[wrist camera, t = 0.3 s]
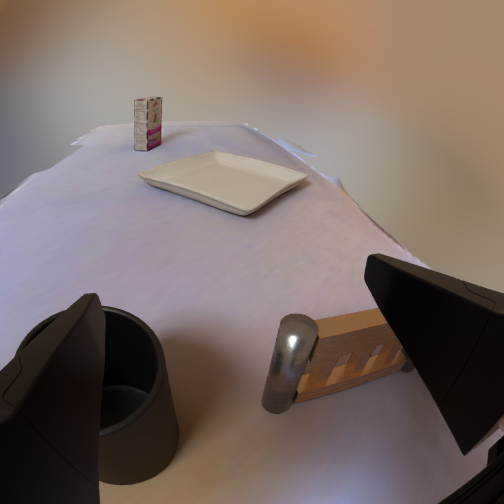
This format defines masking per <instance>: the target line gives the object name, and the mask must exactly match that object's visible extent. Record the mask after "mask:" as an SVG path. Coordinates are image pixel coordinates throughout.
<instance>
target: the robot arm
mask: <svg viewBox="0 0 504 504" xmlns="http://www.w3.org/2000/svg"><path fill="white" fill-rule="evenodd" d="M364 280H365V283H366V285H367V286H368V288H369V290H370V292H371V294H372V296H373V298H374V300H375V302H376V304H377V306H378V307H379V309H380V311H381V313H382V315H383V316H384V318H385V320H386V321H387V323H388V324H389V326H390V327H391V329H392V331H393V332H394V334H395V335H396V337H397V339H398V340H399V342H400V343H401V345H402V347H403V348H404V350H405V351H406V353H407V355H408V356H409V358H410V360H411V361H412V363H413V365H414V366H415V368H416V370H417V371H418V373H419V375H420V376H421V378H422V380H423V382H424V383H425V385H426V387H427V388H428V390H429V392H430V394H431V396H432V397H433V399H434V401H435V403H436V404H437V406H438V408H439V410H440V412H441V414H442V416H443V418H444V419H445V421H446V423H447V425H448V427H449V429H450V431H451V433H452V435H453V437H454V438H455V440H456V442H457V444H458V446H459V448H460V450H461V452H462V454H463V455H464V456H465V455H467V454H468V453H469V452H471V451H472V450H473V449H474V448H476V447H477V446H478V445H480V444H481V443H482V442H483V441H484V440H486V439H487V438H488V437H489V436H491V435H492V434H493V433H494V432H495V431H496V430H498V429H499V428H501V430H502V431H503V432H504V293H500V292H497V291H493V290H491V289H487V288H484V287H481V286H478V285H475V284H472V283H469V282H466V281H463V280H462V281H461V280H460V279H456V278H454V277H451V276H448V275H445V274H442V273H439V272H436V271H433V270H430V269H427V268H424V267H421V266H418V265H414V264H411V263H408V262H405V261H402V260H399V259H396V258H392V257H389V256H386V255H383V254H379V253H377V254H371V255H369V256H368V258H367V262H366V268H365V273H364ZM105 326H106V319H105V314H104V311H103V308H102V305H101V302H100V299H99V297H98V295H97V294H96V293H89V294H84V295H83V296H82V297H81V298H79V299H78V300H77V301H76V302H75V303H74V304H72V305H71V306H70V307H69V308H68V309H67V310H66V311H64V312H63V313H62V314H61V315H60V316H59V317H58V318H56V319H55V320H54V321H53V322H52V323H51V324H50V325H49V326H48V327H46V328H45V329H44V330H43V331H42V332H41V333H40V334H39V335H38V336H37V337H36V338H34V339H33V340H32V341H31V342H30V343H29V344H28V345H27V346H26V347H25V348H24V349H23V350H22V351H21V352H20V353H19V355H16V356H15V357H14V358H13V359H12V360H11V361H10V362H9V363H8V364H7V365H6V366H5V367H4V368H3V369H2V370H1V371H0V504H100V494H99V429H100V411H101V397H102V386H103V376H104V366H105ZM438 504H504V436H503V437H502V438H501V439H499V440H498V441H497V442H496V443H495V444H494V445H493V446H492V447H491V448H490V449H489V452H488V460H487V467H486V468H484V469H483V470H482V471H481V472H480V473H478V474H477V475H476V476H475V477H473V478H472V479H471V480H470V481H468V482H467V483H466V484H464V485H463V486H462V487H460V488H459V489H458V490H456V491H455V492H454V493H452V494H451V495H449V496H448V497H446V498H445V499H444V500H442V501H441V502H439V503H438Z"/></svg>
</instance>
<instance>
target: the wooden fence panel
mask: <svg viewBox="0 0 504 504" xmlns="http://www.w3.org/2000/svg"><path fill="white" fill-rule="evenodd" d="M382 344H384V345H383V347H382V349H381V351H380V353H379V354H378V355H375V356H372V357H371V355H372V353H373V351H374V349H375V348H376V346H378V345H382ZM401 346H402V345H401V343H400V342H399V340H398V339H397V337H396V335H395V334H394V332H393V331H392V329H391V327H390V326H389V324H388V323H387V321H386V320H385V318H384V316H383V315H382V313H381V311H380V309H379V308H376V309H371V310H366V311H361V312H356V313H351V314H346V315H341V316H335V317H330V318H324V319H319V320H313V319H311V318H310V317H308V316H306V315H302V314H290V315H287V316H285V317H284V318H283V319H282V320H281V322H280V326H279V330H278V335H277V339H276V343H275V347H274V352H273V356H272V360H271V364H270V368H269V372H268V376H267V380H266V384H265V388H264V392H263V396H262V405H263V407H264V408H265V409H266V410H267V411H268V412H270V413H273V414H281V413H284V412H286V411H287V410H288V409H289V407H290V405H291V402H292V400H293V402H294V403H298V402H302V401H306V400H309V399H313V398H317V397H321V396H324V395H328V394H331V393H335V392H338V391H341V390H344V389H348V388H351V387H354V386H357V385H360V384H363V383H366V382H369V381H372V380H375V379H378V378H380V377H383V376H386V375H388V374H391V373H394V372H396V371H399V370H401V371H403V372H411V371H413V370H414V368H415V366H414V365H413V363H412V361H411V360H410V358H409V356H408V355H407V353H406V351H405V350H404V348H403V347H402V348H401ZM400 348H401V350H400ZM350 353H352V354H351V356H350V358H349V360H348V362H347V364H344V365H341V366H337V367H334V366H335V364H336V362H337V360H338V358H339V356H342V355H346V354H350ZM308 359H309V361H310V363H313V362H314V365H313V367H312V370H311V372H310V373H309V374H305V375H303V372H304V370H305V367H306V364H307V362H308Z"/></svg>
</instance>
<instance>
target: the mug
mask: <svg viewBox="0 0 504 504" xmlns="http://www.w3.org/2000/svg"><path fill="white" fill-rule="evenodd" d="M102 308H103V311H104V314H105V319H106V326H105V366H104V376H103V386H102V397H101V411H100V429H99V481H101V482H104V483H108V484H114V485H131V484H136V483H140V482H143V481H145V480H148V479H150V478H152V477H153V476H155V475H157V474H158V473H159V472H160V471H162V470H163V469H164V468H165V467H166V466H167V464H168V463H169V462H170V460H171V459H172V457H173V455H174V453H175V451H176V447H177V444H178V436H179V432H178V424H177V419H176V415H175V410H174V405H173V400H172V395H171V390H170V385H169V379H168V374H167V368H166V362H165V357H164V351H163V348H162V346H161V344H160V341H159V339H158V338H157V336H156V335H155V333H154V332H153V331H152V329H151V328H150V327H149V326H148V325H147V324H146V323H145V322H143V321H142V320H141V319H140V318H138V317H136V316H134V315H133V314H131V313H129V312H126V311H124V310H121V309H117V308H113V307H108V306H102ZM64 311H66V310H64ZM64 311H61V312H59V313H56V314H54V315H52V316H50V317H49V318H47V319H45V320H43V321H42V322H41V323H39V324H38V325H37V326H36V327H34V328H33V329H32V330H31V331H30V332H29V333H28V334H27V336H26V337H25V338H24V340H23V341H22V342H21V344H20V346H19V348H18V349H17V352H16V354H15V356H16V355H19V353H20V352H21V351H22V350H23V349H24V348H25V347H26V346H27V345H28V344H29V343H30V342H31V341H32V340H33V339H34V338H36V337H37V336H38V335H39V334H40V333H41V332H42V331H43V330H44V329H45V328H46V327H48V326H49V325H50V324H51V323H52V322H53V321H54V320H55V319H56V318H58V317H59V316H60V315H61V314H62V313H63V312H64Z"/></svg>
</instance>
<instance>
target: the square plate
mask: <svg viewBox="0 0 504 504" xmlns="http://www.w3.org/2000/svg"><path fill="white" fill-rule="evenodd" d="M138 176H139V177H140V178H141V179H142V180H144V181H145V182H147V183H148V184H151V185H153V186H156V187H159V188H162V189H165V190H167V191H170V192H173V193H176V194H179V195H182V196H185V197H188V198H191V199H194V200H197V201H200V202H203V203H206V204H208V205H211V206H214V207H216V208H219V209H222V210H225V211H228V212H231V213H234V214H238V215H248V214H251V213H253V212H254V211H256V210H258V209H259V208H261V207H262V206H264V205H265V204H266V203H268V202H269V201H271V200H272V199H274V198H275V197H277V196H279V195H280V194H282V193H284V192H286V191H288V190H290V189H292V188H294V187H295V186H297V185H299V184H300V183H302V182H303V181H304V180H305V179H307V178H308V176H309V175H308V174H305V173H302V172H298V171H295V170H292V169H289V168H285V167H282V166H279V165H275V164H272V163H268V162H264V161H260V160H256V159H252V158H248V157H243V156H238V155H233V154H227V153H222V152H217V151H212V152H208V153H203V154H199V155H194V156H190V157H186V158H183V159H179V160H176V161H173V162H169V163H166V164H163V165H160V166H157V167H155V168H152V169H149V170H146V171H144V172H141V173H138Z"/></svg>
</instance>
